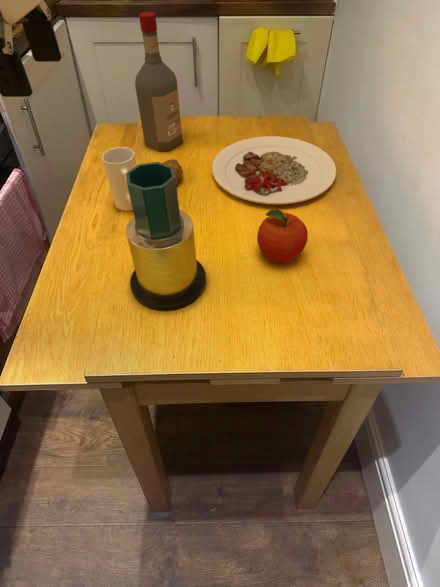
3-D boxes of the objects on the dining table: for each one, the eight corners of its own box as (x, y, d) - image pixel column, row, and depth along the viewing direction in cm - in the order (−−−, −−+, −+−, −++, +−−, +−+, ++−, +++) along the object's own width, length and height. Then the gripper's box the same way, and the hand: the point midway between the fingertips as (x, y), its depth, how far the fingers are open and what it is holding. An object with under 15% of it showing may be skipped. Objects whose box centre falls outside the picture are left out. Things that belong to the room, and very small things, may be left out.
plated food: (321, 140, 111) (323, 128, 108) (347, 207, 91) (351, 194, 88) (211, 144, 110) (210, 133, 108) (213, 212, 90) (212, 199, 88)
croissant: (177, 198, 94) (175, 179, 91) (149, 196, 95) (145, 177, 91) (188, 166, 103) (187, 148, 100) (162, 165, 104) (160, 147, 100)
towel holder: (115, 290, 75) (97, 232, 65) (163, 247, 83) (153, 189, 73) (175, 323, 70) (166, 265, 60) (220, 273, 78) (218, 215, 67)
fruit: (300, 275, 77) (307, 234, 69) (251, 265, 79) (253, 224, 71) (308, 242, 83) (315, 201, 75) (262, 234, 85) (265, 194, 78)
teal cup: (128, 228, 65) (116, 179, 59) (155, 206, 69) (147, 157, 63) (162, 243, 63) (154, 194, 56) (188, 219, 67) (183, 170, 60)
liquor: (187, 140, 112) (176, 12, 90) (164, 154, 108) (147, 22, 85) (163, 131, 116) (147, 6, 94) (140, 144, 111) (117, 15, 89)
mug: (111, 198, 95) (98, 151, 86) (139, 191, 96) (129, 144, 87) (122, 223, 88) (109, 174, 80) (151, 215, 90) (142, 166, 81)
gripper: (-40, -154, 38) (28, 50, 51) (-164, -150, 27) (-35, 112, 39) (38, -157, 38) (87, 49, 50) (-53, -154, 26) (41, 111, 39)
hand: (34, 76), depth 45 cm, fingers open, 9 cm apart
